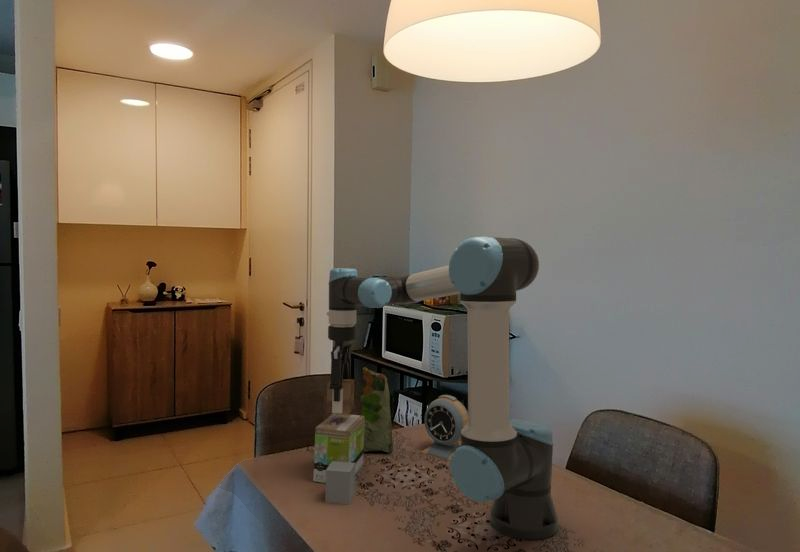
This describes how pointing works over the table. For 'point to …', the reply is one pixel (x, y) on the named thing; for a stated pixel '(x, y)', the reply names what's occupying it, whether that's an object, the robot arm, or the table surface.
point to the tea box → (338, 443)
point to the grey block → (340, 482)
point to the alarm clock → (445, 426)
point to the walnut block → (347, 396)
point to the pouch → (376, 412)
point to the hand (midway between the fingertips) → (340, 409)
